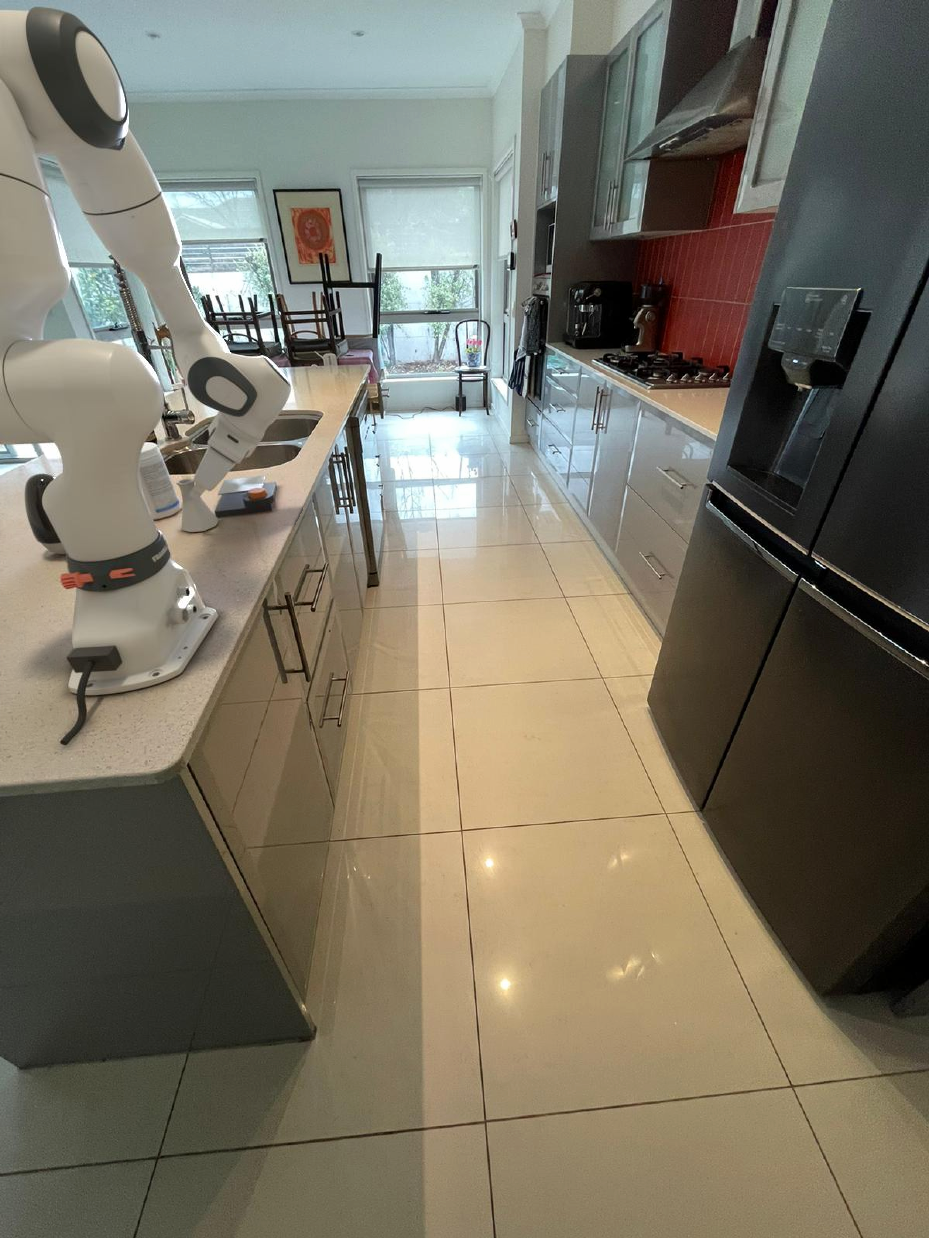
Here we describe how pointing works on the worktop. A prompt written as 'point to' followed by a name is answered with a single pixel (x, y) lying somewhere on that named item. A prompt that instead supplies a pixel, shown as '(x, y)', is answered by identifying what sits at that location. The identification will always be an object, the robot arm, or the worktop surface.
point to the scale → (246, 502)
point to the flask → (194, 510)
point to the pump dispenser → (41, 513)
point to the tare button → (257, 493)
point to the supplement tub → (157, 483)
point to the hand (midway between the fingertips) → (198, 488)
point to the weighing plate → (241, 485)
